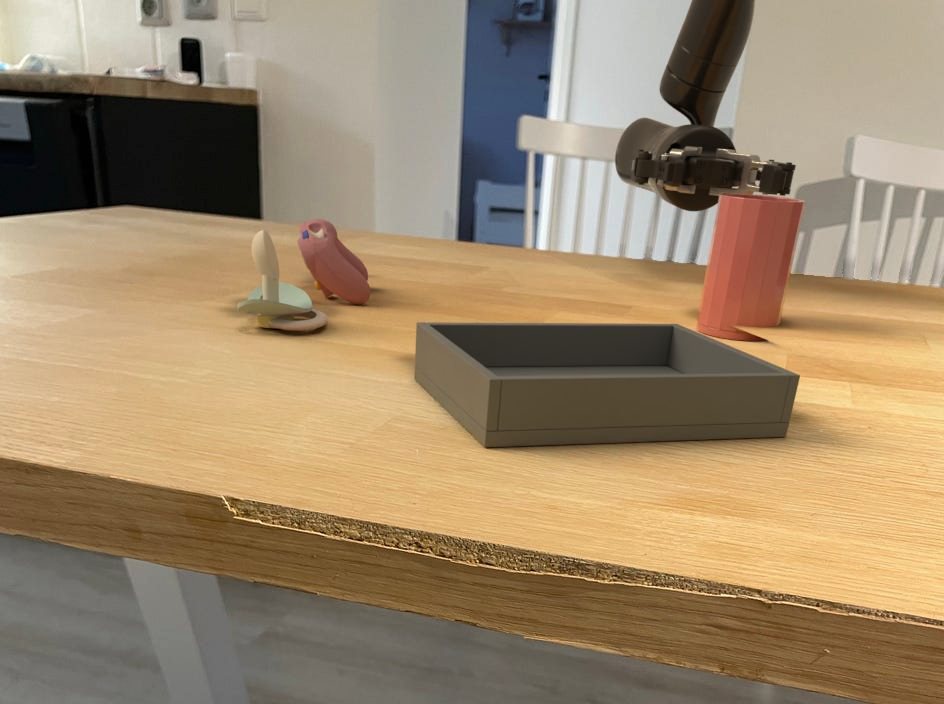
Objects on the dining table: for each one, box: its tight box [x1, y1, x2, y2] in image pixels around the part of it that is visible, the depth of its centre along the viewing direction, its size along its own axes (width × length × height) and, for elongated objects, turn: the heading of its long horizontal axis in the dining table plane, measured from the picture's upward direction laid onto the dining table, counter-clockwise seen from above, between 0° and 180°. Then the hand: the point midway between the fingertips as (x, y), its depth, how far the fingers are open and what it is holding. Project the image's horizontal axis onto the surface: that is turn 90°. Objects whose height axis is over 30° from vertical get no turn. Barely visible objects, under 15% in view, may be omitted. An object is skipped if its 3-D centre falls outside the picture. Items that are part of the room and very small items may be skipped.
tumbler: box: [696, 193, 807, 342], centre depth 74 cm, size 6×6×10 cm
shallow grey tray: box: [413, 321, 801, 448], centre depth 53 cm, size 17×13×3 cm
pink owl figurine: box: [296, 218, 371, 305], centre depth 79 cm, size 10×5×7 cm, turn 6°
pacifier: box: [236, 229, 329, 332], centre depth 66 cm, size 7×6×6 cm
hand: (728, 177), depth 81 cm, fingers open, 8 cm apart
